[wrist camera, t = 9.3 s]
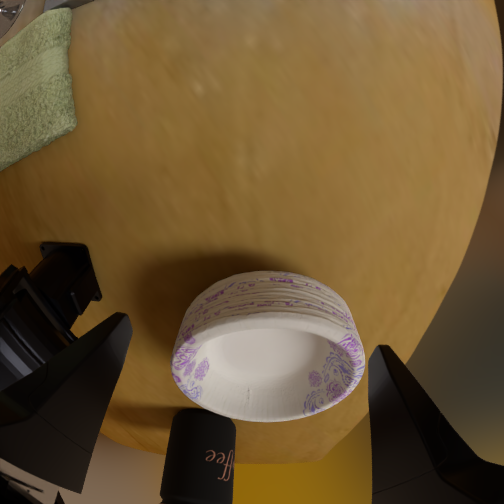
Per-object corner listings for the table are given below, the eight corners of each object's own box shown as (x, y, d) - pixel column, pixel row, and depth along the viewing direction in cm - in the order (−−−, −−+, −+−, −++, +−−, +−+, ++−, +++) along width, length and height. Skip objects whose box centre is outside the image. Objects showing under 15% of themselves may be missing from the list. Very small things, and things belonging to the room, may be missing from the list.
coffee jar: (241, 431, 41) (238, 519, 26) (186, 429, 42) (174, 512, 27) (228, 406, 36) (221, 517, 20) (163, 405, 37) (144, 504, 21)
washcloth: (-28, 81, 11) (-46, 85, 9) (80, 1, 11) (58, -6, 8) (-15, 181, 18) (-33, 192, 15) (89, 137, 17) (65, 145, 14)
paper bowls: (161, 269, 23) (130, 336, 16) (338, 230, 21) (372, 294, 14) (218, 370, 31) (212, 428, 24) (346, 348, 28) (361, 408, 21)
